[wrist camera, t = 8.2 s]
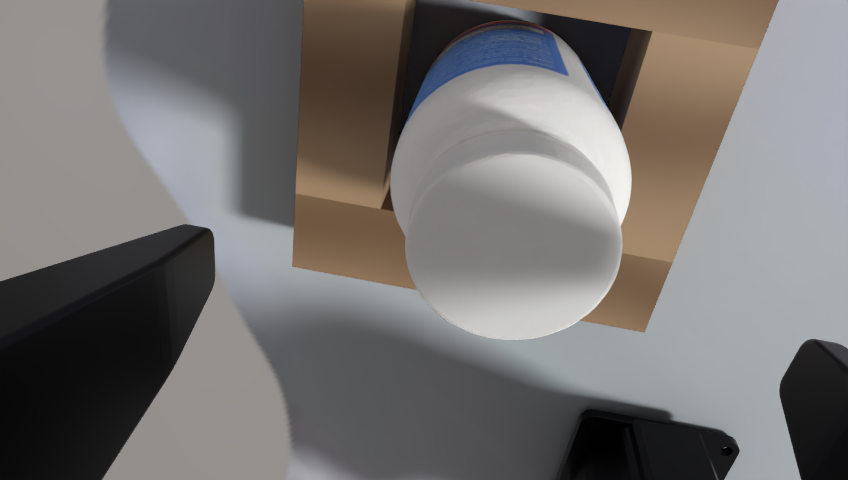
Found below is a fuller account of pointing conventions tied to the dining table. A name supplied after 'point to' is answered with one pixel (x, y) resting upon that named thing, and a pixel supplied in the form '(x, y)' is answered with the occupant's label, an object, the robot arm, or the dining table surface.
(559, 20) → the dining table surface
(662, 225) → the socket block
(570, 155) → the pill bottle
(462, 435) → the dining table surface
